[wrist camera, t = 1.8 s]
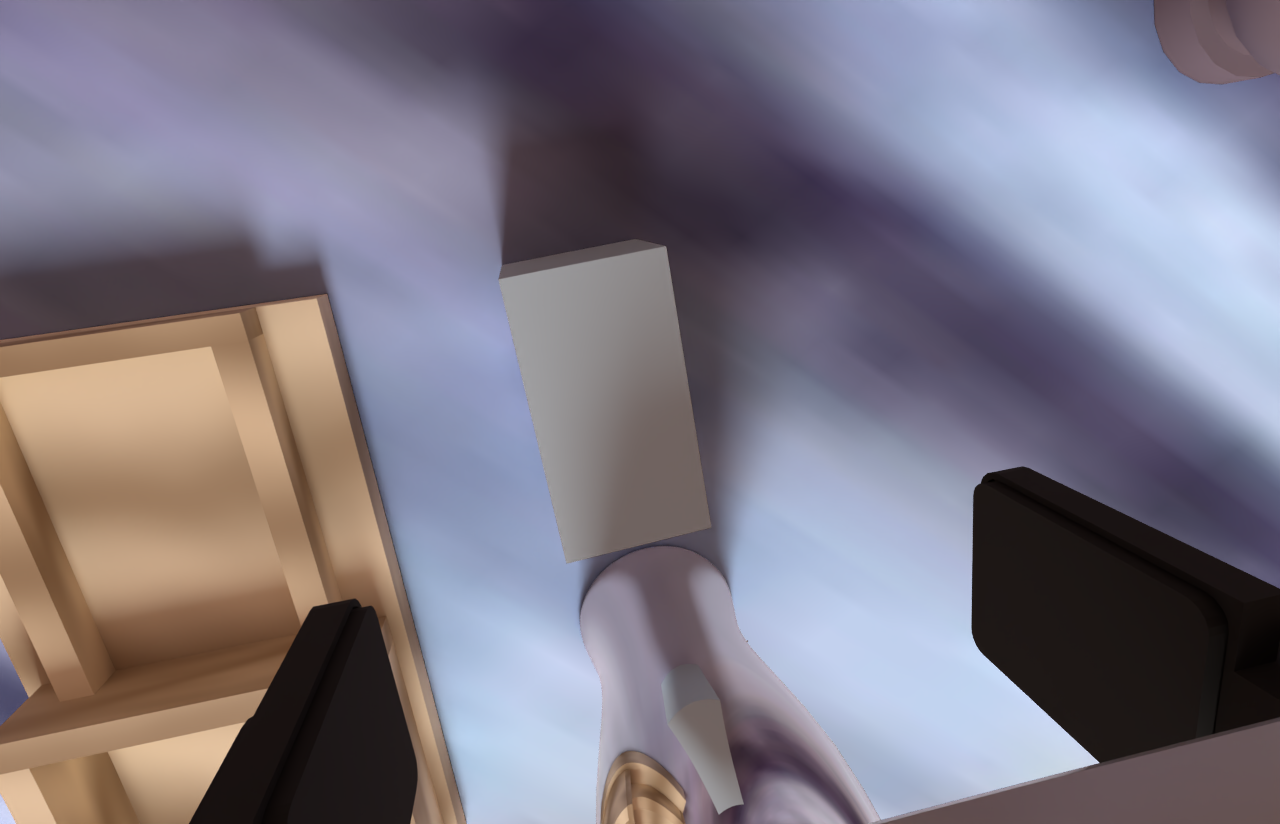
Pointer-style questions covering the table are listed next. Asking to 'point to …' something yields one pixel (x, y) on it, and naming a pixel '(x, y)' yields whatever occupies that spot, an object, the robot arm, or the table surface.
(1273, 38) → the cat figurine
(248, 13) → the table surface
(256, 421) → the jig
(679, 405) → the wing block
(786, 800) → the beer glass
